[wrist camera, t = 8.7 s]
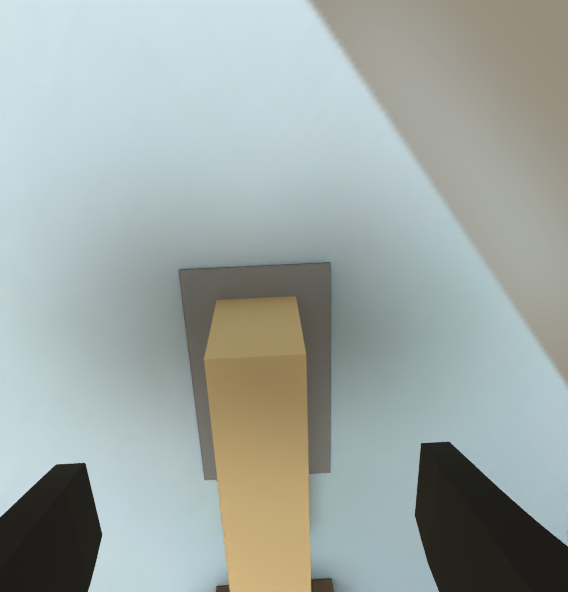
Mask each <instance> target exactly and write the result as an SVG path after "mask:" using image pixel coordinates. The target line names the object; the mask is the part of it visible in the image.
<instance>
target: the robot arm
mask: <svg viewBox="0 0 568 592" xmlns="http://www.w3.org/2000/svg"><path fill="white" fill-rule="evenodd" d="M415 517H416V521H417V525H418V529H419V532H420V536H421V540H422V544H423V547H424V551H425V554H426V558H427V561H428V564H429V567H430V569H431V572H432V575H433V577H434V580H435V582H436V585H437V587H438V590H439V592H568V546H566V545H565V544H564V543H563V542H561V541H560V540H559V539H558V538H556V537H555V536H554V535H553V534H551V533H550V532H549V531H548V530H546V529H545V528H544V527H543V526H542V525H540V524H539V523H538V522H537V521H536V520H535V519H533V518H532V517H531V516H530V515H529V514H528V513H526V512H525V511H524V510H523V509H522V508H521V507H520V506H518V505H517V504H516V503H515V502H514V501H513V500H512V499H510V498H509V497H508V496H507V495H506V494H505V493H504V492H503V491H502V490H500V489H499V488H498V487H497V486H496V485H495V484H494V483H493V482H492V481H491V480H490V479H488V478H487V477H486V476H485V475H484V474H483V473H482V472H481V471H480V470H479V469H478V468H477V467H476V466H475V465H474V464H472V463H471V462H470V461H469V460H468V459H467V458H466V457H465V456H464V455H463V454H462V453H461V452H460V451H459V450H457V449H456V448H455V447H454V446H453V445H452V444H451V443H450V442H437V443H421V451H420V463H419V474H418V486H417V498H416V509H415ZM101 538H102V532H101V528H100V523H99V519H98V515H97V511H96V507H95V502H94V498H93V494H92V490H91V485H90V481H89V477H88V473H87V468H86V464H85V463H76V464H58V465H55V466H54V467H53V468H52V469H51V470H50V471H49V472H48V473H47V474H45V475H44V476H43V477H42V478H41V479H40V480H39V481H38V482H37V483H36V484H35V485H34V486H33V487H32V488H31V489H30V490H29V491H28V492H26V493H25V494H24V495H23V496H22V497H21V498H20V499H19V500H18V501H17V502H16V503H15V504H14V505H13V506H12V507H11V508H10V509H9V510H8V511H7V512H6V513H4V514H3V515H2V516H1V517H0V592H88V589H89V586H90V583H91V579H92V575H93V571H94V567H95V563H96V559H97V555H98V551H99V546H100V542H101Z"/></svg>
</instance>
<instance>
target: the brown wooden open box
mask: <svg viewBox="0 0 568 592" xmlns="http://www.w3.org/2000/svg"><path fill="white" fill-rule="evenodd" d="M216 592H230V589H229V586H219V587H216ZM312 592H334V590H333V584H332V579H324V580H312Z"/></svg>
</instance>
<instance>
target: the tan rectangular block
mask: <svg viewBox="0 0 568 592" xmlns="http://www.w3.org/2000/svg"><path fill="white" fill-rule="evenodd" d="M204 364H205V373H206V382H207V391H208V400H209V409H210V418H211V427H212V436H213V445H214V454H215V463H216V472H217V481H218V490H219V499H220V508H221V517H222V526H223V535H224V544H225V553H226V562H227V571H228V580H229V589H230V592H311V561H310V512H309V464H308V449H309V442H308V415H307V366H306V350H305V344H304V339H303V333H302V328H301V322H300V316H299V311H298V305H297V300H296V296H289V297H269V298H249V299H229V300H216V305H215V310H214V314H213V319H212V324H211V329H210V333H209V338H208V343H207V348H206V352H205V357H204Z"/></svg>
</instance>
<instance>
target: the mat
mask: <svg viewBox="0 0 568 592" xmlns="http://www.w3.org/2000/svg"><path fill="white" fill-rule="evenodd" d="M179 277H180V285H181V293H182V302H183V310H184V318H185V326H186V334H187V342H188V350H189V358H190V366H191V374H192V382H193V390H194V399H195V407H196V415H197V423H198V431H199V439H200V447H201V455H202V463H203V471H204V479H205V480H216V479H217V472H216V463H215V454H214V445H213V436H212V427H211V418H210V409H209V400H208V391H207V382H206V373H205V364H204V357H205V352H206V348H207V343H208V338H209V333H210V329H211V324H212V319H213V314H214V310H215V305H216V300H229V299H249V298H269V297H289V296H296V300H297V305H298V311H299V316H300V322H301V328H302V333H303V339H304V344H305V350H306V366H307V415H308V442H309V449H308V464H309V474H315V473H330V416H331V264H330V262H329V263H308V264H287V265H266V266H246V267H225V268H204V269H183V270H179Z"/></svg>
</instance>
